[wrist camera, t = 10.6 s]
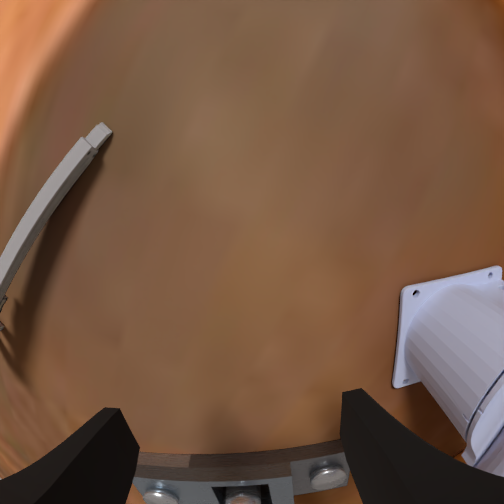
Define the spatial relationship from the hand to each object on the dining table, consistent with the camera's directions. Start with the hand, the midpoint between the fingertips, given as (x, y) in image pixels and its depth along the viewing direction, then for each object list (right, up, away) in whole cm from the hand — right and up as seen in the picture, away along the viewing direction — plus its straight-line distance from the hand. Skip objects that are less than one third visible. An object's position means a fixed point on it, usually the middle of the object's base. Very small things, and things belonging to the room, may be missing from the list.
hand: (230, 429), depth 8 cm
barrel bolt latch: (0, -13, +13) cm, 19 cm away
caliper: (-15, +6, +9) cm, 18 cm away
